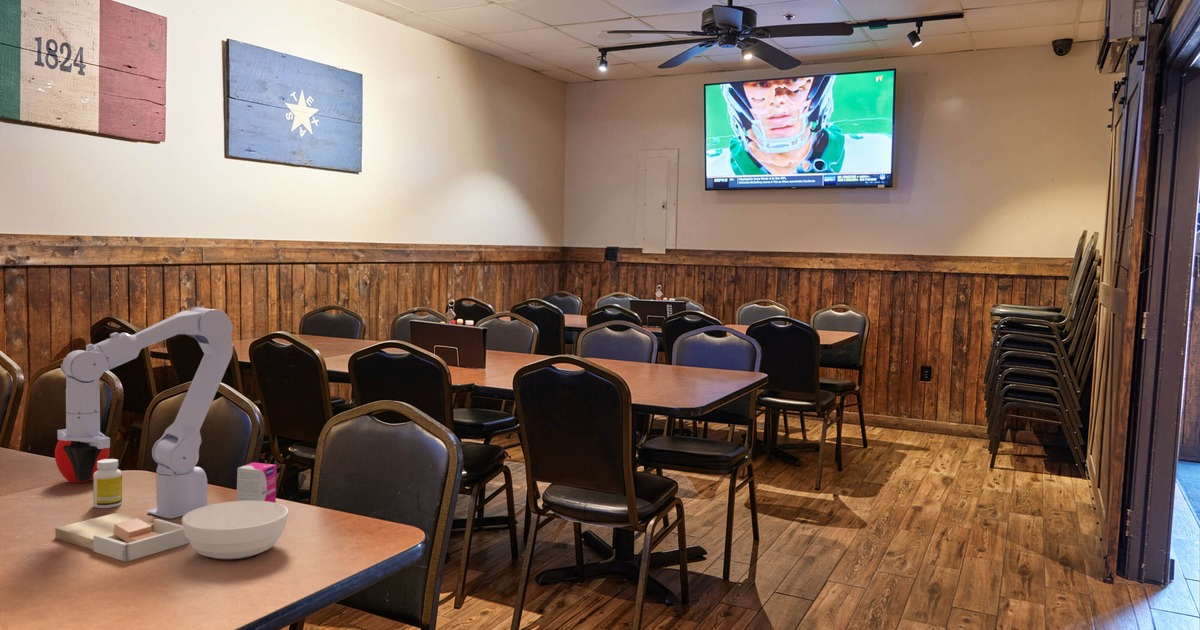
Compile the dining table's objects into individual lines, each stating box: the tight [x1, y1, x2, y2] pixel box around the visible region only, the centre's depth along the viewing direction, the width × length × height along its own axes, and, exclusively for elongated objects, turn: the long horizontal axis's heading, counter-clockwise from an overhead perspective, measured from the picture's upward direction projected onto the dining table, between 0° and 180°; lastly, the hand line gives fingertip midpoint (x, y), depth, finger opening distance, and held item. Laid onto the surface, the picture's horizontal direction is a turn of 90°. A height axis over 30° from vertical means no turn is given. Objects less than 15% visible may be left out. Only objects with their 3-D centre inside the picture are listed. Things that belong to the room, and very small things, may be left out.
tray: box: [93, 518, 190, 563], centre depth 163 cm, size 13×10×3 cm
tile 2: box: [128, 531, 159, 543], centre depth 162 cm, size 4×4×2 cm
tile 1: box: [114, 517, 152, 542], centre depth 164 cm, size 4×4×2 cm
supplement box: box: [236, 462, 278, 503], centre depth 181 cm, size 6×6×12 cm
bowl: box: [181, 500, 289, 560], centre depth 161 cm, size 18×18×7 cm
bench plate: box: [54, 512, 154, 551], centre depth 168 cm, size 12×13×2 cm
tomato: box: [54, 440, 110, 484], centre depth 206 cm, size 11×11×13 cm
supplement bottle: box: [92, 458, 123, 509], centre depth 188 cm, size 5×5×10 cm
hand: (83, 479), depth 171 cm, fingers closed
